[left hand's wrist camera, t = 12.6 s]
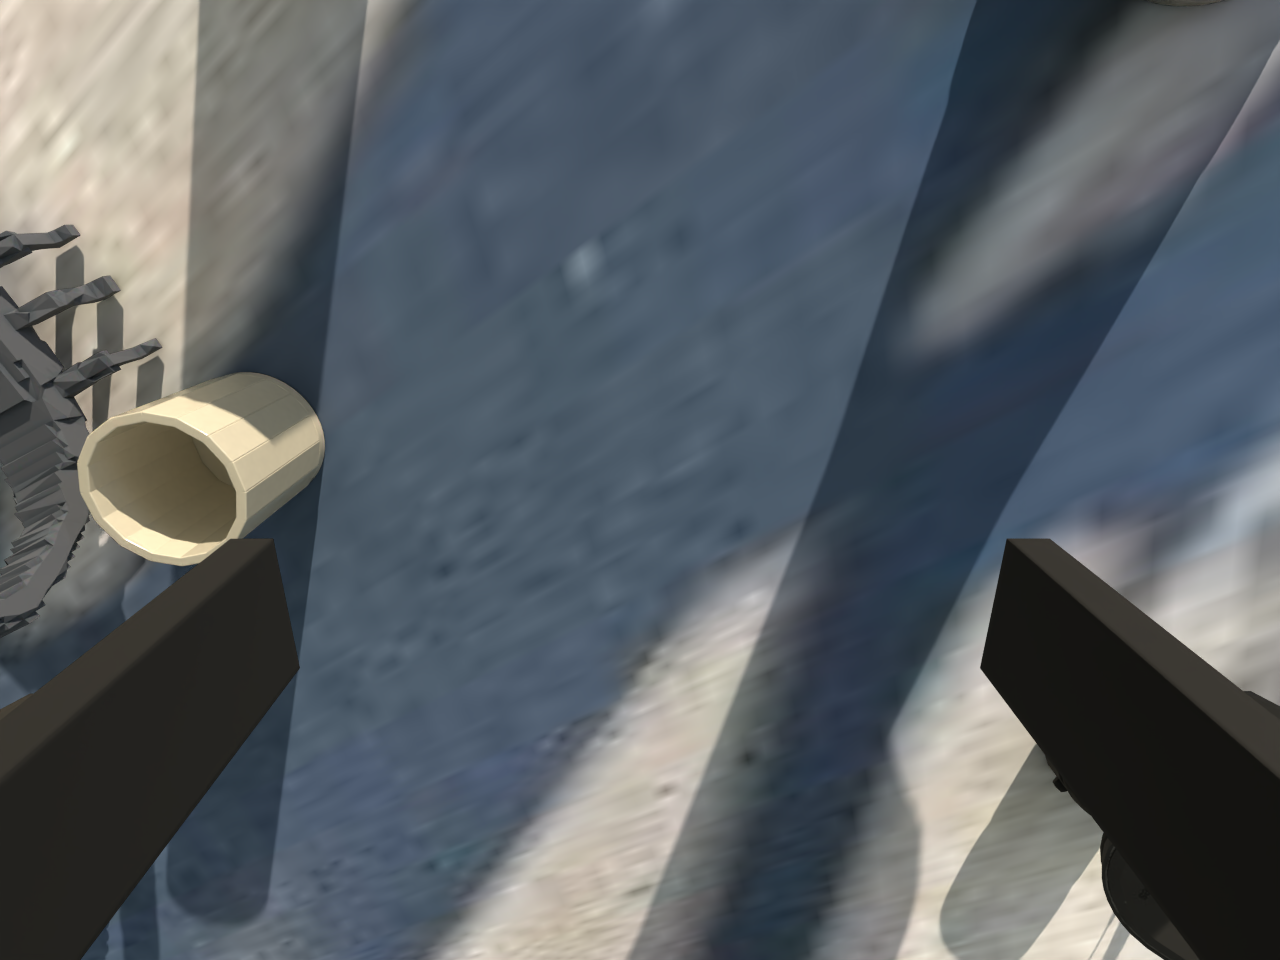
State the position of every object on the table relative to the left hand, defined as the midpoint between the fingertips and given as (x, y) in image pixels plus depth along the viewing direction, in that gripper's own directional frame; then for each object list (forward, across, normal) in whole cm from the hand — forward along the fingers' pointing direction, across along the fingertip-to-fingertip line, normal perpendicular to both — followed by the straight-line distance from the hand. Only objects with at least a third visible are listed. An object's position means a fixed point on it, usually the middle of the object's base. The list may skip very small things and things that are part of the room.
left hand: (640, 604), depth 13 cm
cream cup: (+29, -23, -6) cm, 37 cm away
